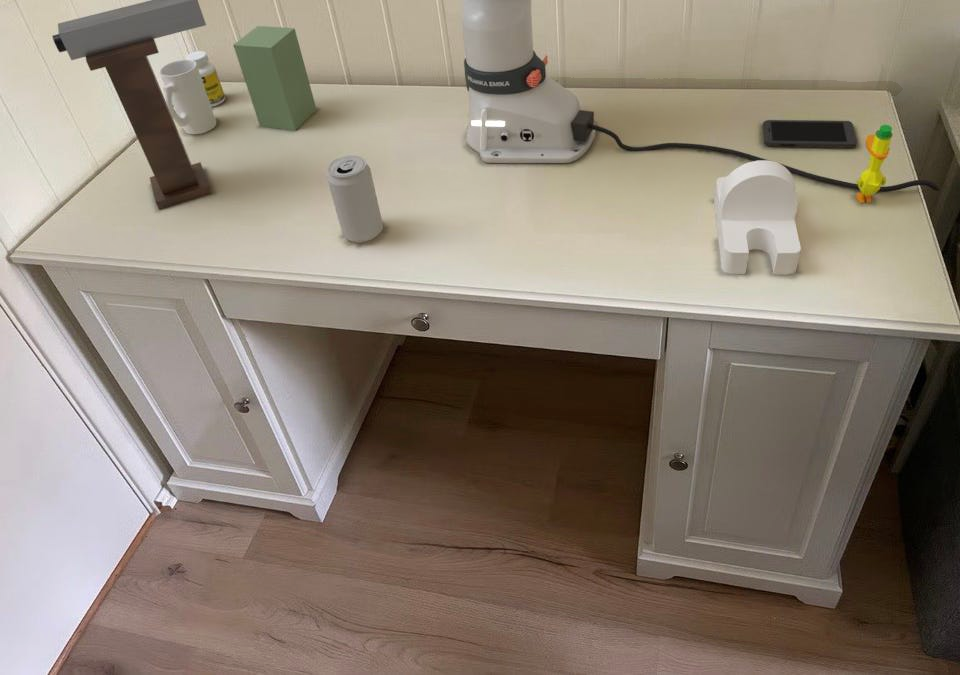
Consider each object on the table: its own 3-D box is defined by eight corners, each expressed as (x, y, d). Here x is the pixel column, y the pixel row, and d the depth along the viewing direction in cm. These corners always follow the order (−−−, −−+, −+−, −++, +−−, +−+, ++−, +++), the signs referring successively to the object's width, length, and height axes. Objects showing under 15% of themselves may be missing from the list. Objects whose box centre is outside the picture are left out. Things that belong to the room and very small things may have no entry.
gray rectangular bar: (201, 15, 123) (192, -11, 120) (206, 25, 119) (197, -2, 117) (62, 52, 118) (49, 25, 115) (63, 62, 115) (49, 35, 112)
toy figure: (844, 186, 117) (863, 112, 109) (869, 184, 116) (890, 110, 108) (857, 212, 112) (878, 137, 104) (883, 211, 112) (906, 136, 103)
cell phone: (857, 148, 123) (858, 144, 123) (763, 146, 126) (764, 142, 126) (851, 124, 128) (852, 120, 128) (762, 123, 131) (762, 119, 131)
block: (316, 109, 152) (294, 28, 141) (295, 130, 147) (271, 47, 136) (281, 106, 155) (257, 25, 144) (259, 126, 150) (233, 44, 138)
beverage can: (336, 243, 120) (317, 175, 111) (353, 218, 124) (335, 152, 116) (374, 247, 118) (358, 179, 110) (390, 222, 122) (375, 154, 114)
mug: (194, 117, 155) (171, 59, 147) (224, 118, 153) (202, 59, 145) (167, 143, 148) (142, 84, 140) (199, 145, 147) (175, 85, 138)
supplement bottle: (201, 110, 157) (183, 64, 150) (197, 100, 161) (180, 53, 154) (228, 103, 158) (211, 56, 151) (223, 92, 162) (207, 46, 155)
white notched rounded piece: (722, 273, 106) (731, 207, 98) (713, 197, 118) (721, 133, 111) (797, 274, 104) (812, 207, 97) (780, 197, 117) (792, 132, 109)
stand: (206, 168, 140) (148, 24, 122) (214, 192, 134) (155, 44, 116) (149, 185, 138) (83, 41, 120) (155, 210, 132) (86, 62, 114)
